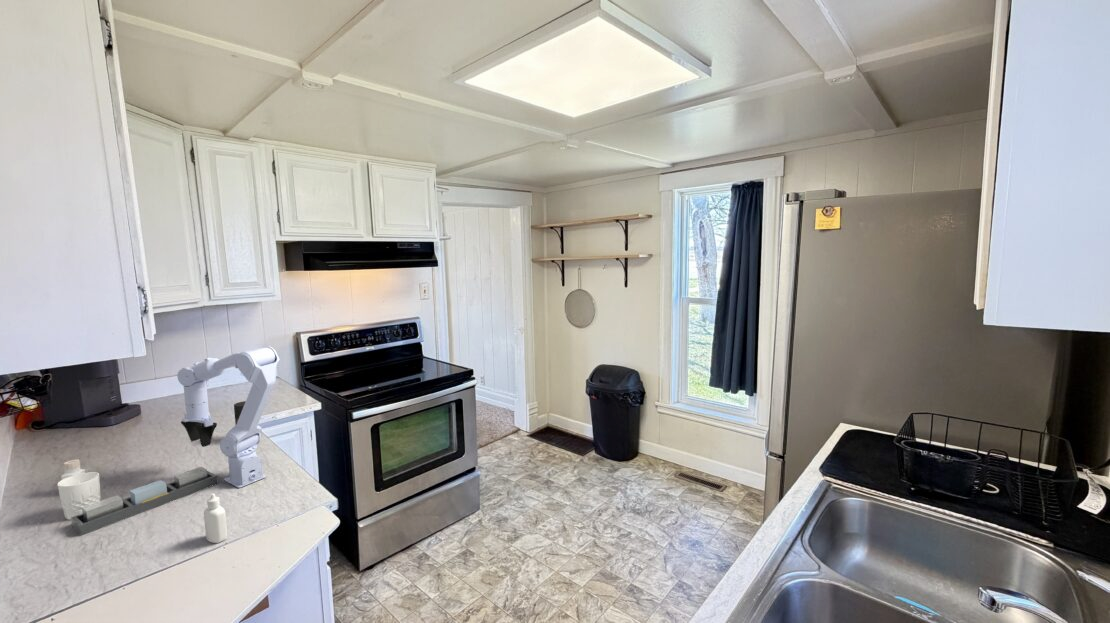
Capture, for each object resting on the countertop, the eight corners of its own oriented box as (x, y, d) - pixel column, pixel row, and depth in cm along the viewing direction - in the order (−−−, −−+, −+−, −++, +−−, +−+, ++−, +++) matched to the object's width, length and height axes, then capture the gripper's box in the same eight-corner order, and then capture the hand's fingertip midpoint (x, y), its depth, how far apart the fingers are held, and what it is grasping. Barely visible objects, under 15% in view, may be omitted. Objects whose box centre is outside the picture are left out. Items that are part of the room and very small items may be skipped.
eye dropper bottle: (227, 529, 117) (223, 486, 115) (227, 540, 112) (223, 496, 111) (206, 535, 114) (202, 492, 113) (205, 547, 110) (201, 501, 108)
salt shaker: (71, 489, 135) (67, 459, 134) (88, 487, 137) (84, 457, 136) (62, 496, 132) (58, 465, 130) (80, 493, 133) (76, 463, 132)
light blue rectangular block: (167, 497, 130) (166, 483, 130) (136, 509, 124) (134, 494, 124) (162, 494, 132) (161, 479, 132) (131, 505, 126) (129, 490, 125)
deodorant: (246, 445, 167) (243, 406, 165) (233, 443, 169) (229, 405, 167) (259, 439, 173) (256, 401, 171) (246, 437, 174) (243, 400, 172)
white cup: (101, 501, 129) (97, 469, 128) (105, 512, 124) (100, 478, 123) (61, 513, 123) (56, 479, 122) (63, 524, 118) (58, 489, 117)
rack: (217, 483, 140) (216, 468, 139) (81, 535, 114) (78, 516, 113) (206, 477, 143) (205, 462, 143) (72, 526, 117) (69, 508, 117)
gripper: (171, 402, 143) (175, 442, 145) (192, 410, 136) (196, 452, 138) (197, 396, 149) (201, 434, 151) (218, 403, 142) (222, 444, 144)
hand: (200, 442), depth 145 cm, fingers open, 7 cm apart
